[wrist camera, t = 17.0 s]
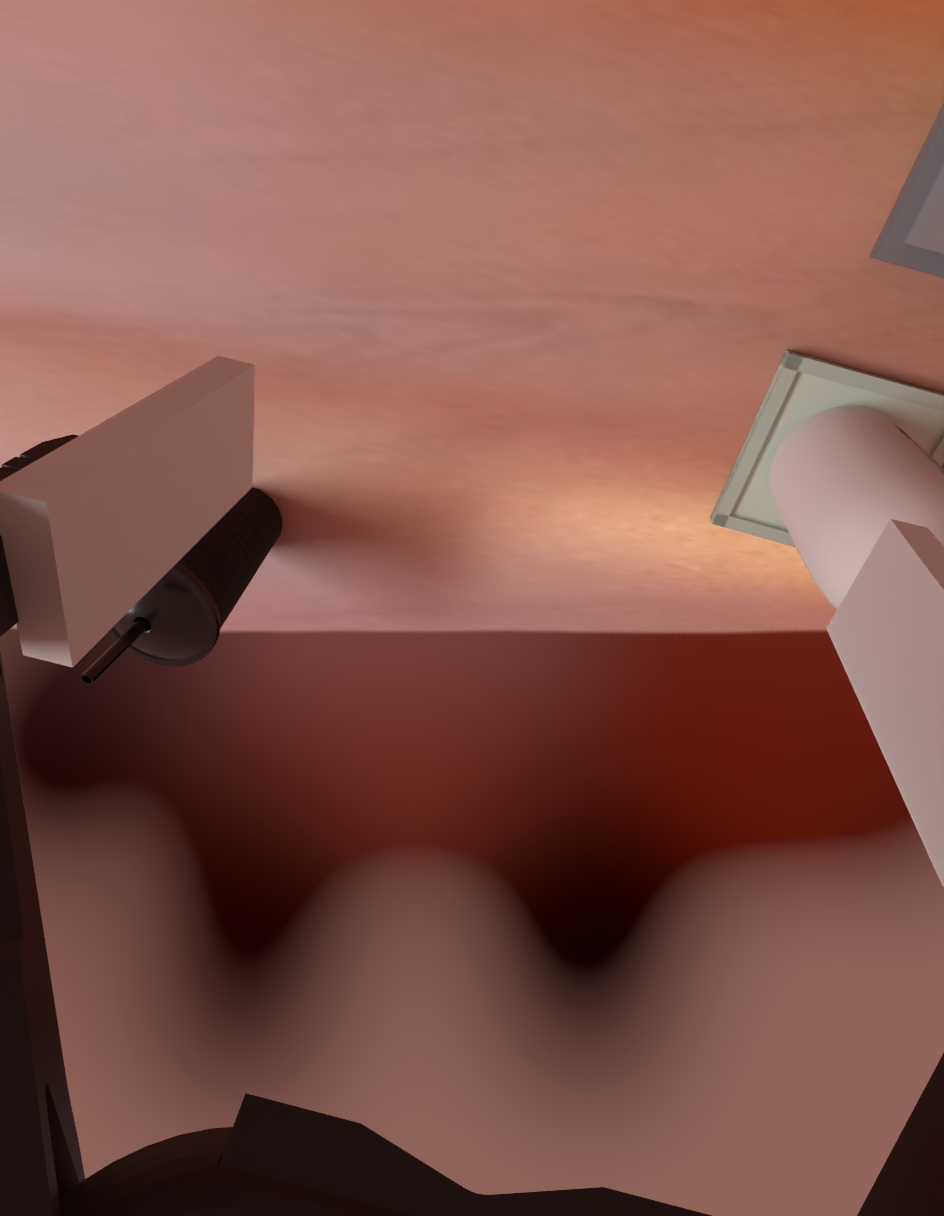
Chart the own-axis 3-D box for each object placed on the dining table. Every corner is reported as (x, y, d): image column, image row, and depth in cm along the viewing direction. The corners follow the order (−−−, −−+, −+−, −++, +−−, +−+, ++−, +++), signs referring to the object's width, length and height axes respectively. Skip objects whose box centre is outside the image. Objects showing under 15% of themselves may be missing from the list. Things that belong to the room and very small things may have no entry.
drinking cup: (312, 493, 52) (169, 653, 35) (288, 577, 56) (149, 757, 39) (211, 449, 51) (16, 591, 34) (194, 538, 55) (12, 703, 38)
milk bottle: (750, 514, 47) (829, 713, 30) (789, 394, 42) (907, 548, 26) (874, 532, 46) (1026, 747, 29) (926, 412, 42) (1138, 583, 25)
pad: (786, 349, 42) (790, 353, 41) (971, 400, 42) (979, 405, 41) (710, 517, 48) (712, 523, 47) (872, 562, 48) (876, 569, 47)
